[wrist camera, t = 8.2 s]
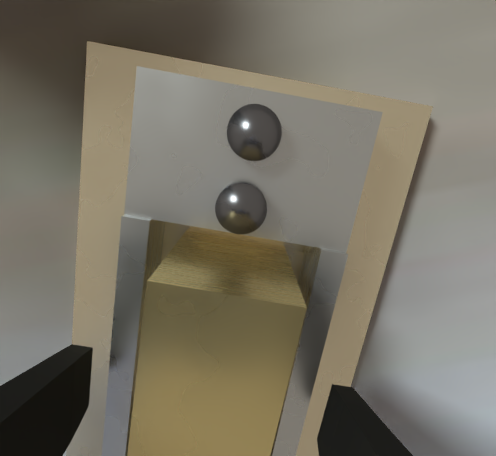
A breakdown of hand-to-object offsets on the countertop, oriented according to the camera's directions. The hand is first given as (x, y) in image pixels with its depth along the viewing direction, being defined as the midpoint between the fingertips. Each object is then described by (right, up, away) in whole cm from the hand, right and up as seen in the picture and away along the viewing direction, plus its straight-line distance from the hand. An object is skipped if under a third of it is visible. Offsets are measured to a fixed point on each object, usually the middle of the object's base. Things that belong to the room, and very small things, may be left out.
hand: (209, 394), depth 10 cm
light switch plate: (0, +1, +3) cm, 3 cm away
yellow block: (0, +1, +3) cm, 3 cm away
